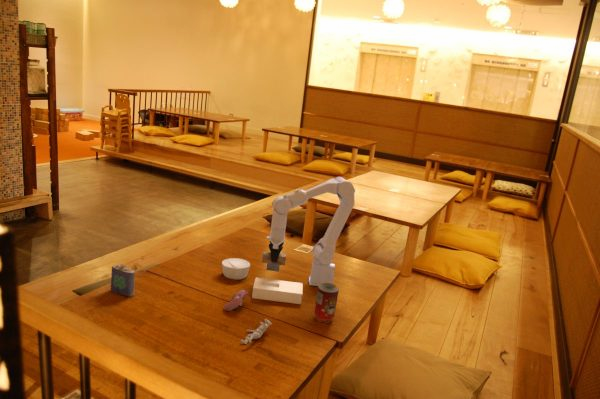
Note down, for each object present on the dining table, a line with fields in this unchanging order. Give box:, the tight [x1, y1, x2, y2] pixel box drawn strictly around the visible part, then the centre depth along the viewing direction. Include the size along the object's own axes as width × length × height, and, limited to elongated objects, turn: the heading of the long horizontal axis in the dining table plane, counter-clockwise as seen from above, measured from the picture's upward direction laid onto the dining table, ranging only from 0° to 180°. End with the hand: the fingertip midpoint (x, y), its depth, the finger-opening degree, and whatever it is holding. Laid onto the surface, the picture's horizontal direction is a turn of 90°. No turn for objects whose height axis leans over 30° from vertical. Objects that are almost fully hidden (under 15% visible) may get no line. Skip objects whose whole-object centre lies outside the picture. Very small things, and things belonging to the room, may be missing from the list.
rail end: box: [261, 251, 287, 272], centre depth 187 cm, size 9×3×6 cm, turn 89°
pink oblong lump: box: [223, 288, 249, 312], centre depth 164 cm, size 10×5×7 cm, turn 169°
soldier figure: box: [240, 318, 273, 345], centre depth 146 cm, size 8×5×12 cm
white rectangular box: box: [251, 277, 304, 305], centre depth 177 cm, size 18×10×4 cm, turn 89°
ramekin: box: [221, 257, 251, 281], centre depth 190 cm, size 11×11×5 cm
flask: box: [109, 263, 136, 298], centre depth 161 cm, size 9×3×11 cm, turn 68°
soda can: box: [314, 283, 340, 324], centre depth 163 cm, size 7×7×12 cm
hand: (274, 260), depth 187 cm, fingers closed on rail end, 3 cm apart
